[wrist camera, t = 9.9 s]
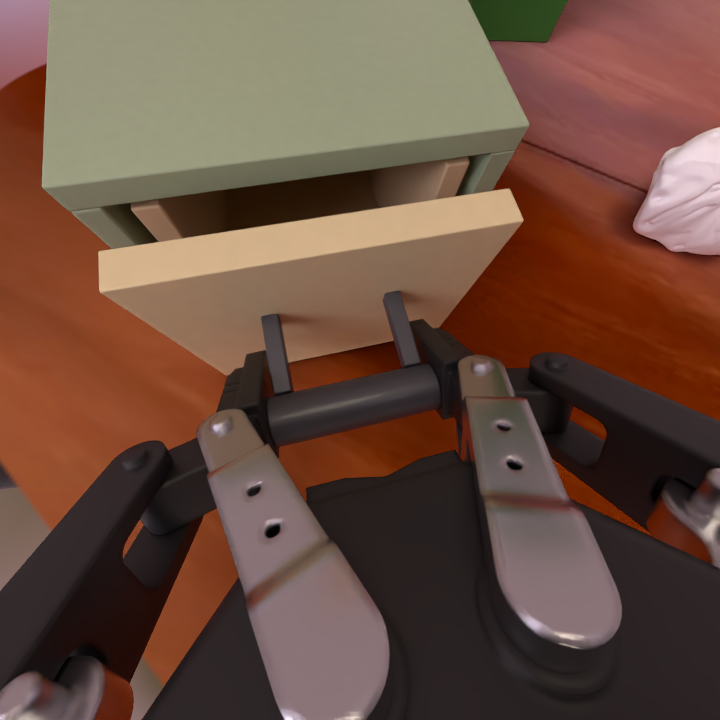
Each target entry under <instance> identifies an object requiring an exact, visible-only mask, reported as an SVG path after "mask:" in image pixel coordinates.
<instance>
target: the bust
mask: <svg viewBox="0 0 720 720" xmlns="http://www.w3.org/2000/svg"><path fill="white" fill-rule="evenodd" d="M633 229H634V230H635V231H636V232H637V233H639V234H641V235H643V236H646V237H648V238H651V239H654V240H657V241H659V242H660V243H661V244H663V245H664V246H665V247H666V248H667V249H668V250H670V251H673V252H683V251H685V252H690V253H694V254H701V255H720V127H718V128H715V129H712V130H709V131H706V132H704V133H701V134H699V135H697V136H696V137H694V138H692V139H691V140H689V141H687V142H686V143H685V144H683V145H682V146H680V147H674V148H671V149H670V150H669V151H667V152H666V153H664V155H663V157H662V159H661V160H660V162H659V164H658V168H657V169H656V170H655V171H654V173H653V178H652V183H651V184H650V187H649V190H648V194H647V196H646V198H645V200H644V202H643V204H642V206H641V208H640V210H639V211H638V213H637V215H636V217H635V219H634V222H633Z"/></svg>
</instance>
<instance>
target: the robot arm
mask: <svg viewBox="0 0 720 720" xmlns="http://www.w3.org/2000/svg"><path fill="white" fill-rule="evenodd" d="M409 323H410V326H411V330H412V333H413V336H414V340H415V343H416V347H417V350H418V353H419V357H420V360H421V363H420V364H424V363H427V364H429V365H430V366H431V367H432V368H433V370H434V371H435V373H436V376H437V378H438V381H439V385H440V390H441V405H440V407H439V408H438V409H436V411H437V412H438V414H439V415H440V417H441V418H442V420H444V419H448V418H452V417H454V418H455V419H456V440H457V450H458V453H457V452H456V450H452V451H448V452H444V453H441V454H437V455H433V456H429V457H425V458H421V459H419V460H417V461H415V462H413V463H411V464H409V465H407V466H405V467H403V468H401V469H400V470H398V471H396V472H394V473H392V474H390V475H388V476H384V477H364V478H344V479H340V480H336V481H332V482H328V483H324V484H320V485H316V486H312V487H309V488H306V491H307V501H306V502H305V500H304V499H303V497H302V496H301V494H300V493H299V491H298V489H297V488H296V486H295V485H294V483H293V482H292V480H291V478H290V477H289V475H288V474H287V472H286V471H285V469H284V467H283V466H282V464H281V463H280V461H279V460H278V459H279V447H277V446H276V445H275V444H274V442H273V439H272V437H271V433H270V429H269V425H268V419H267V409H266V405H267V399H268V398H269V397H273V396H275V395H274V394H273V389H272V383H271V377H270V371H269V365H268V358H267V352H266V350H263V351H258V352H253V353H248V354H246V358H245V362H244V366H243V367H242V368H237V369H235V370H234V371H233V372H232V373H231V374H230V375H229V376H228V377H227V380H226V383H225V387H224V389H223V394H222V396H221V399H220V402H219V405H218V409H217V412H216V413H215V414H213V415H211V416H209V417H208V418H206V419H205V420H204V421H203V422H202V423H201V424H200V425H199V427H198V428H197V431H196V435H197V437H196V438H195V439H193V440H191V441H189V442H187V443H184V444H182V445H180V446H177V447H175V448H173V449H170V450H167V448H166V446H165V445H164V443H162V442H160V441H147V442H143V443H140V444H137V445H135V446H133V447H131V448H129V449H127V450H125V451H124V452H122V453H121V454H120V455H118V456H117V457H116V458H115V459H114V460H113V461H112V462H111V463H110V464H109V465H108V466H107V468H106V469H105V470H104V471H103V472H102V473H101V475H100V476H99V477H98V478H97V479H96V480H95V482H94V483H93V484H92V485H91V486H90V487H89V489H88V490H87V491H86V492H85V493H84V494H83V496H82V497H81V498H80V499H79V500H78V501H77V502H76V504H75V505H74V506H73V507H72V508H71V509H70V511H69V512H68V513H67V514H66V515H65V516H64V518H63V519H62V520H61V521H60V522H59V523H58V525H57V526H56V527H55V528H54V529H53V530H52V532H51V533H50V534H49V535H48V536H47V537H46V539H45V540H44V541H43V542H42V543H41V544H40V546H39V547H38V548H37V549H36V550H35V551H34V553H33V554H32V555H31V556H30V557H29V558H28V559H27V561H26V562H25V563H24V564H23V565H22V567H21V568H20V569H19V570H18V571H17V572H16V573H15V575H14V576H13V577H12V578H11V579H10V581H9V582H8V583H7V584H6V585H5V586H4V587H3V589H2V590H1V591H0V720H130V719H131V715H132V710H133V702H134V701H133V700H134V699H133V691H132V688H131V686H130V681H131V679H132V677H133V675H134V672H135V670H136V668H137V666H138V663H139V661H140V659H141V657H142V654H143V652H144V650H145V648H146V645H147V643H148V641H149V639H150V636H151V634H152V632H153V630H154V627H155V625H156V623H157V621H158V618H159V616H160V614H161V612H162V609H163V607H164V605H165V603H166V600H167V598H168V596H169V594H170V591H171V589H172V587H173V585H174V582H175V580H176V578H177V576H178V573H179V571H180V569H181V567H182V564H183V562H184V560H185V558H186V555H187V553H188V551H189V549H190V546H191V544H192V542H193V540H194V537H195V535H196V533H197V531H198V528H199V526H200V524H201V522H202V519H203V515H205V514H206V513H208V512H210V511H212V510H214V509H216V508H217V509H218V513H219V516H220V519H221V522H222V525H223V528H224V531H225V534H226V537H227V540H228V543H229V546H230V549H231V553H232V556H233V559H234V562H235V565H236V568H237V571H238V574H239V577H238V579H237V580H236V582H235V583H234V585H233V586H232V588H231V589H230V591H229V592H228V593H227V595H226V596H225V598H224V599H223V601H222V602H221V604H220V605H219V607H218V608H217V610H216V611H215V613H214V614H213V616H212V617H211V618H210V620H209V621H208V623H207V624H206V626H205V627H204V629H203V630H202V632H201V633H200V635H199V636H198V638H197V639H196V641H195V642H194V643H193V645H192V646H191V648H190V649H189V651H188V652H187V654H186V655H185V657H184V658H183V660H182V661H181V663H180V664H179V666H178V667H177V669H176V670H175V671H174V673H173V674H172V676H171V677H170V679H169V680H168V682H167V683H166V685H165V686H164V688H163V689H162V691H161V692H160V694H159V695H158V696H157V698H156V699H155V701H154V702H153V704H152V705H151V707H150V708H149V710H148V711H147V713H146V714H145V716H144V717H143V719H142V720H720V421H718V420H716V419H713V418H711V417H709V416H706V415H704V414H702V413H700V412H697V411H695V410H693V409H690V408H688V407H686V406H684V405H681V404H679V403H677V402H674V401H672V400H670V399H668V398H665V397H663V396H661V395H658V394H656V393H654V392H652V391H649V390H647V389H645V388H642V387H640V386H638V385H635V384H633V383H631V382H629V381H626V380H624V379H622V378H619V377H617V376H615V375H613V374H610V373H608V372H606V371H603V370H601V369H599V368H597V367H594V366H592V365H590V364H587V363H585V362H583V361H581V360H578V359H576V358H574V357H571V356H569V355H565V354H561V353H552V352H547V353H540V354H537V355H534V356H533V357H532V358H531V361H530V367H529V368H505V367H504V365H503V363H502V362H501V361H500V360H498V359H496V358H494V357H490V356H486V355H474V354H473V353H472V352H471V351H469V350H468V349H467V348H466V347H465V346H464V345H462V344H461V343H460V342H459V341H458V340H457V339H456V338H455V339H454V337H453V336H452V335H451V334H450V333H449V332H447V331H445V330H442V329H440V328H432V327H431V326H430V325H429V324H428V323H427V322H426V321H425V320H424V319H419V320H414V321H409ZM420 364H419V365H420ZM573 406H575V407H577V408H578V409H580V410H582V411H584V412H585V413H587V414H589V415H591V416H593V417H594V418H596V419H597V420H599V421H600V422H601V423H602V424H603V425H604V427H605V429H606V432H607V437H606V440H605V441H603V440H602V439H600V438H599V437H597V436H595V435H594V434H592V433H591V432H589V431H587V430H586V429H584V428H582V427H581V426H579V425H578V424H576V423H574V422H573V421H571V420H569V419H570V415H571V412H572V408H573ZM552 458H553V459H554V460H555V461H557V462H558V463H559V464H561V465H562V466H563V467H565V468H566V469H567V470H569V471H570V472H571V473H572V474H574V475H575V476H576V477H578V478H579V479H580V480H582V481H583V482H584V483H586V484H587V485H588V486H590V487H591V488H592V489H593V490H595V491H596V492H597V493H599V494H600V495H601V496H603V497H604V498H605V499H607V500H608V501H609V502H611V503H612V504H613V505H614V506H616V507H617V508H618V509H620V510H621V511H622V512H624V513H625V514H626V515H628V516H629V517H630V518H632V519H633V520H634V521H636V522H637V523H638V524H639V525H641V526H642V527H643V528H645V529H646V530H647V531H649V532H650V534H651V536H650V535H647V534H645V533H643V532H641V531H639V530H637V529H634V528H632V527H630V526H628V525H626V524H624V523H621V522H619V521H617V520H615V519H613V518H611V517H608V516H606V515H604V514H602V513H600V512H598V511H595V510H593V509H591V508H589V507H587V506H585V505H582V504H580V503H578V502H576V501H574V500H572V499H569V498H568V496H567V494H566V491H565V489H564V487H563V484H562V482H561V479H560V477H559V475H558V472H557V470H556V467H555V465H554V463H553V460H552ZM139 520H141V521H142V523H143V524H144V526H143V527H142V529H141V531H140V532H139V534H138V536H137V537H136V539H135V541H134V542H133V544H132V546H131V547H130V549H129V550H128V552H127V554H126V555H125V557H124V559H123V548H124V545H125V543H126V541H127V539H128V537H129V536H130V534H131V532H132V531H133V529H134V528H135V526H136V524H137V523H138V521H139Z"/></svg>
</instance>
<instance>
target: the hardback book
mask: <svg viewBox="0 0 720 720" xmlns="http://www.w3.org/2000/svg"><path fill="white" fill-rule="evenodd" d="M468 1H469V3H470V5H471V7H472V9H473V11H474V13H475V15H476V17H477V19H478V21H479V23H480V25H481V27H482V29H483V31H484V33H485V35H486V37H487V39H488V40H500V41H533V42H547V41H548V39H549V37H550V35H551V33H552V31H553V29H554V27H555V25H556V23H557V21H558V19H559V17H560V15H561V13H562V11H563V9H564V7H565V5H566V3H567V1H568V0H468Z"/></svg>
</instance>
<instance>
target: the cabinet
mask: <svg viewBox="0 0 720 720" xmlns="http://www.w3.org/2000/svg"><path fill="white" fill-rule="evenodd" d="M529 125H530V123H529V121H528V119H527V117H526V115H525V113H524V111H523V109H522V107H521V105H520V103H519V101H518V99H517V97H516V95H515V93H514V91H513V89H512V87H511V85H510V83H509V81H508V79H507V77H506V75H505V73H504V71H503V69H502V67H501V65H500V63H499V61H498V59H497V57H496V55H495V53H494V51H493V49H492V47H491V45H490V43H489V41H488V39H487V37H486V35H485V33H484V31H483V29H482V27H481V25H480V23H479V21H478V19H477V17H476V15H475V13H474V11H473V9H472V7H471V5H470V3H469V1H468V0H49V24H48V50H47V72H46V96H45V121H44V145H43V169H42V187H43V189H44V190H45V191H46V192H48V193H49V194H50V195H51V196H52V197H53V198H54V199H56V200H57V201H58V202H59V203H60V204H61V205H62V206H63V207H65V208H66V209H67V210H69V211H72V213H73V215H74V216H76V217H77V218H78V219H79V220H80V221H81V222H82V223H84V224H85V225H86V226H87V227H88V228H89V229H90V230H91V231H93V232H94V233H95V234H96V235H97V236H98V237H99V238H101V239H102V240H103V241H104V242H105V243H106V244H107V245H108V246H110V247H111V248H112V249H116V248H123V247H129V246H136V245H142V244H149V243H155V242H159V241H158V240H157V239H156V238H155V237H154V236H153V234H152V233H151V232H150V231H149V230H148V229H147V228H146V226H145V225H144V224H143V223H142V222H141V221H140V220H139V218H138V217H137V216H136V215H135V214H134V213H133V212H132V210H131V203H133V202H140V201H147V200H155V199H162V198H169V197H176V196H184V195H191V194H198V193H206V192H213V191H220V190H227V189H235V188H242V187H249V186H256V185H264V184H271V183H278V182H285V181H293V180H300V179H307V178H314V177H322V176H329V175H336V174H343V173H351V172H358V171H365V170H372V169H380V168H387V167H394V166H402V165H409V164H416V163H423V162H431V161H438V160H445V159H452V158H460V157H467V156H468V159H469V166H468V168H467V170H466V172H465V175H464V177H463V179H462V181H461V184H460V186H459V188H458V190H457V193H456V195H455V196H462V195H468V194H475V193H481V192H488V191H492V190H493V188H494V187H495V185H496V183H497V181H498V180H499V178H500V176H501V175H502V173H503V171H504V169H505V168H506V166H507V164H508V163H509V161H510V159H511V157H512V156H513V154H514V152H515V149H516V148H517V147H518V145H519V143H520V141H521V140H522V138H523V136H524V135H525V133H526V131H527V129H528V128H529Z"/></svg>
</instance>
